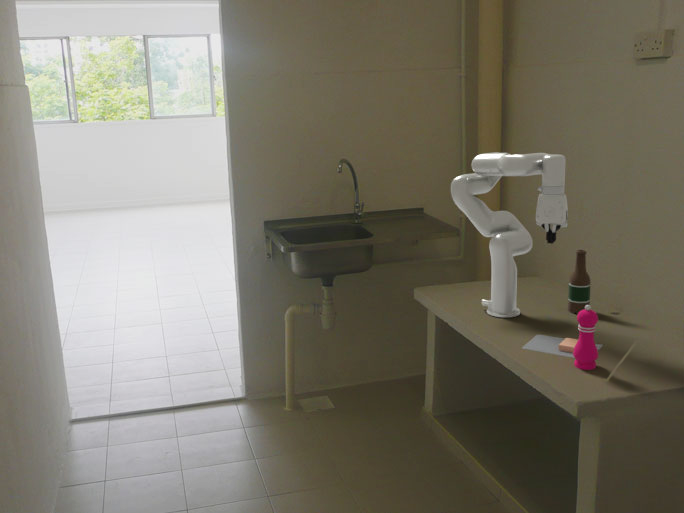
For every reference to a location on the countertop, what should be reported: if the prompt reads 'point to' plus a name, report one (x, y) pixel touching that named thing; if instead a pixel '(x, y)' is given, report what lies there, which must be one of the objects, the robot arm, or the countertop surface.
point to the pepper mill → (586, 340)
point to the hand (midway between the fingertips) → (550, 242)
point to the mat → (549, 345)
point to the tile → (568, 345)
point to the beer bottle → (579, 285)
